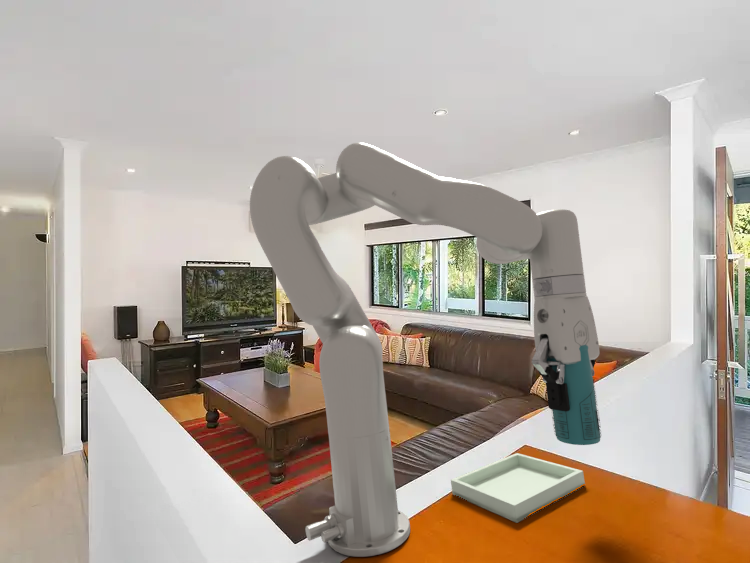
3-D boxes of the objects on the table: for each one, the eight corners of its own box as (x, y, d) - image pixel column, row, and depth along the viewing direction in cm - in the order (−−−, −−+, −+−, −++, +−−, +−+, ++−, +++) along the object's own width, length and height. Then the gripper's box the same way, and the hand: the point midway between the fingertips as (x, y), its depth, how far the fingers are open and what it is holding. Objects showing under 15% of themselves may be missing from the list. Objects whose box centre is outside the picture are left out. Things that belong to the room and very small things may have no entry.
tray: (516, 522, 60) (514, 505, 61) (452, 494, 72) (450, 479, 72) (585, 485, 70) (582, 470, 70) (518, 465, 82) (516, 452, 82)
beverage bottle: (610, 455, 58) (592, 315, 60) (560, 456, 59) (544, 319, 61) (595, 441, 64) (579, 315, 66) (550, 442, 66) (536, 318, 67)
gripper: (545, 288, 56) (561, 421, 54) (612, 285, 65) (627, 399, 64) (502, 293, 62) (515, 412, 61) (569, 290, 72) (581, 394, 70)
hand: (572, 404), depth 62 cm, fingers closed on beverage bottle, 6 cm apart
